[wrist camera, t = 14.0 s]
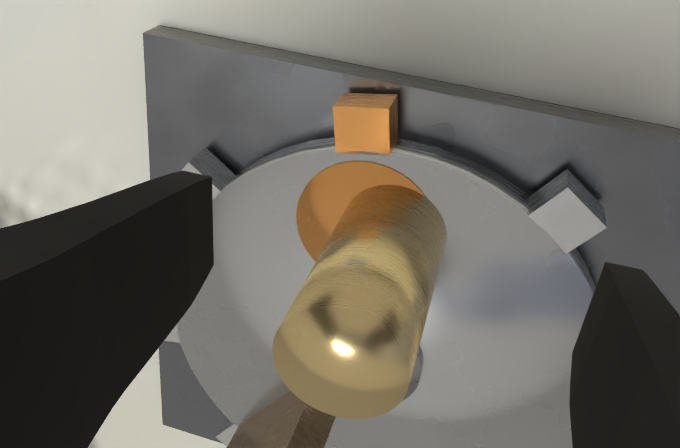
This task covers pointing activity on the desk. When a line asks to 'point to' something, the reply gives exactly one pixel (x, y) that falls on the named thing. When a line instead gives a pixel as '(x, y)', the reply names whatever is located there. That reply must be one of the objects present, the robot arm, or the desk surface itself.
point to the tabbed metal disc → (446, 305)
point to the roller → (364, 306)
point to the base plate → (413, 124)
